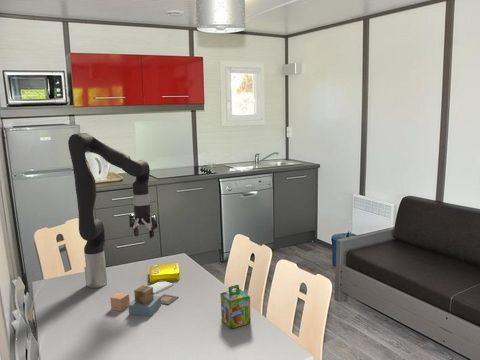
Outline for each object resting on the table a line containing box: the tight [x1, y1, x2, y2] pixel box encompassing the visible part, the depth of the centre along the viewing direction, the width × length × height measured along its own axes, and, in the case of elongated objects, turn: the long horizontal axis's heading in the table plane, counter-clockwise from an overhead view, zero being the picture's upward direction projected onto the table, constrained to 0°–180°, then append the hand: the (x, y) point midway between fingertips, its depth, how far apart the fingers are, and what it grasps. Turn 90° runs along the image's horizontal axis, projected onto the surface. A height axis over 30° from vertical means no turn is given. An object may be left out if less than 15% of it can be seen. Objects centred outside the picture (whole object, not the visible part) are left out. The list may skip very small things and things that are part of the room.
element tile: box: [149, 262, 181, 284], centre depth 216 cm, size 15×15×5 cm
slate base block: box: [127, 295, 162, 317], centre depth 179 cm, size 10×10×4 cm
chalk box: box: [219, 284, 252, 330], centre depth 165 cm, size 9×9×15 cm
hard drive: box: [148, 280, 174, 296], centre depth 201 cm, size 2×8×12 cm
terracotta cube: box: [110, 292, 131, 312], centre depth 182 cm, size 6×6×6 cm
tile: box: [159, 293, 179, 306], centre depth 188 cm, size 8×8×1 cm
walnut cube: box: [133, 285, 154, 305], centre depth 178 cm, size 6×6×6 cm
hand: (144, 236), depth 196 cm, fingers open, 8 cm apart
